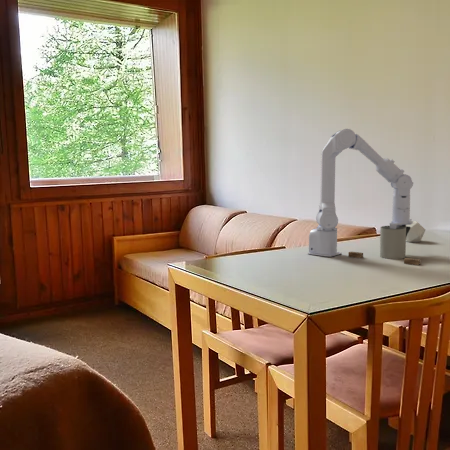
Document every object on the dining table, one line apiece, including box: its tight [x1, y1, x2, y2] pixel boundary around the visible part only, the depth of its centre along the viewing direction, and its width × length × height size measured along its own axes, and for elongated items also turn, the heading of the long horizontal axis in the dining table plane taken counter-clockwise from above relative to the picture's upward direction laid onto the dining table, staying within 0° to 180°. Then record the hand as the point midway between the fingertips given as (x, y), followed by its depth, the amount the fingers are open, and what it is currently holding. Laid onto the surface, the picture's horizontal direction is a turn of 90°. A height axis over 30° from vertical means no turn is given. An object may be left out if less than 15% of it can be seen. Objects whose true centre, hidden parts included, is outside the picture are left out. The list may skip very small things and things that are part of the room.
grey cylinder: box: [379, 225, 407, 260], centre depth 172 cm, size 8×8×10 cm
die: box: [406, 220, 426, 243], centre depth 204 cm, size 8×9×10 cm
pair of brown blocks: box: [348, 251, 421, 266], centre depth 167 cm, size 24×2×2 cm, turn 49°
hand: (400, 246), depth 177 cm, fingers closed
